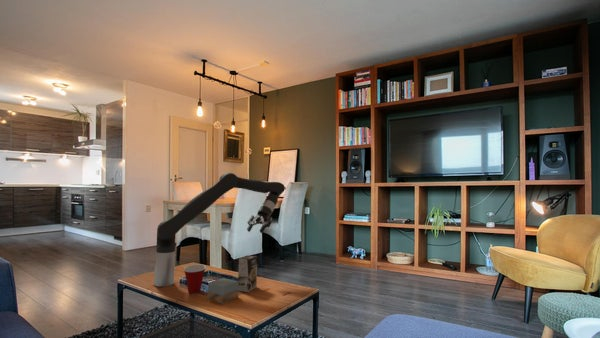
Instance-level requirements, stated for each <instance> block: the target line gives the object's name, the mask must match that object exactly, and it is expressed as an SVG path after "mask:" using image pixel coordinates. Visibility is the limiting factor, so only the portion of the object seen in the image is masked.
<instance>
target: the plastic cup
mask: <svg viewBox="0 0 600 338" xmlns="http://www.w3.org/2000/svg"><path fill="white" fill-rule="evenodd" d="M206 268H207V266H206V265H205V264H199V263H198V264H191V265H187V266H185V267H184V268H183V269H182V270H183V271H184V275H185V280H186V286H187V292H188V293H189V294H197V293H200V292H201V289H202V284H203V282H204V281H203V280H204V275H205V270H206Z"/></svg>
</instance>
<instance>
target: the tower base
mask: <svg viewBox="0 0 600 338" xmlns="http://www.w3.org/2000/svg"><path fill="white" fill-rule="evenodd" d="M206 294H207V295H206V300H207V301H210V302H213V303H218V304H222V305H225V304H227V303H229V302H232V301H234V300H235V299H237V298H239V291H238V290H236V291H233V292H231V293H229V294H226V295H224V296H223V295H219V294H215V293H211V292H208V291H207V292H206Z"/></svg>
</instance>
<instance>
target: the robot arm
mask: <svg viewBox="0 0 600 338" xmlns="http://www.w3.org/2000/svg"><path fill="white" fill-rule="evenodd" d="M285 187H286V186H285V185H284V184H283V183H282V182H280V181H264V180H258V179H251V178H250V179H249V178H243V177H240V176H237V175H236V174H235V173H232V172H225V173H223V174H221V175H220V176H219V180H218V181H217V182H216V183H215V184H214V185H212V186H211V187H209V188H207V189H205V190H204V191H202V192H200V193H199V194H197V195H196V196H195V197H193V198H192V199H190V201H188V203H186V204H185V205H184V206H183V207H182V208H181V210H179V211H178V213H176V214H175V215H173V217H172V216H171V218H169V219H168V220H163V221H161V222H160V223H159V224H158V226H157V229H156V249H155V251H156V253H155V266H154V270H153V272H154V275H153V278H154V279H153V285H154V286H155V287H159V288H160V287H161V288H163V287H169V286H173V285H174V283H175V267H176V266H175V265H176V263H175V262H176V234H178V233H179V231H180V230H181V229H183V227H184V226H186V225H187V224H188V223H190V222H191V221H193V220H194V219H196V218H197V217H198V216H200V215H201V214H202V213H204V212H206V210H207V209H208V208H210V206H212V205H213V204H214V203H215V202H217V200H219V198H221V197H222V196H223V195H225V194H227V192H229V191H231V190H232V189H234V188H235V189H242V190H247V191H252V192H256V193H259V194H267V193H268V194H267V196H266V197H265V200H264V201H263V203H262V204H261V206H260V208H259V209H258V211H257V215H253V214H252V215H251V216H250V217H249V219H248V221H247V224H248V226H247V228H246V229H247V231H248V232H249V233H251V230H252V229H253V227H254V226H256V225H261V226H260V229H259V232H260V233H261V234H262V233H264V231H265V230H266V228H270V227H271V224H272V222H273V217H272V216H271V215H273V212H274V210H275V207H276V205H277V203H278V200H279V198H280V196H281V194H283V193H284V191H286V188H285Z"/></svg>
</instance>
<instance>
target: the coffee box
mask: <svg viewBox="0 0 600 338" xmlns="http://www.w3.org/2000/svg"><path fill="white" fill-rule="evenodd" d="M237 275H238V276H237V277H238V280H237V281H238V292H245V293H249V292H251V291H253V290H254V289H256V288H257V284H258V283H257V281H258V280H257V279H258V276H257V275H258V255H244V256H243V257H239V258H238V273H237Z"/></svg>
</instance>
